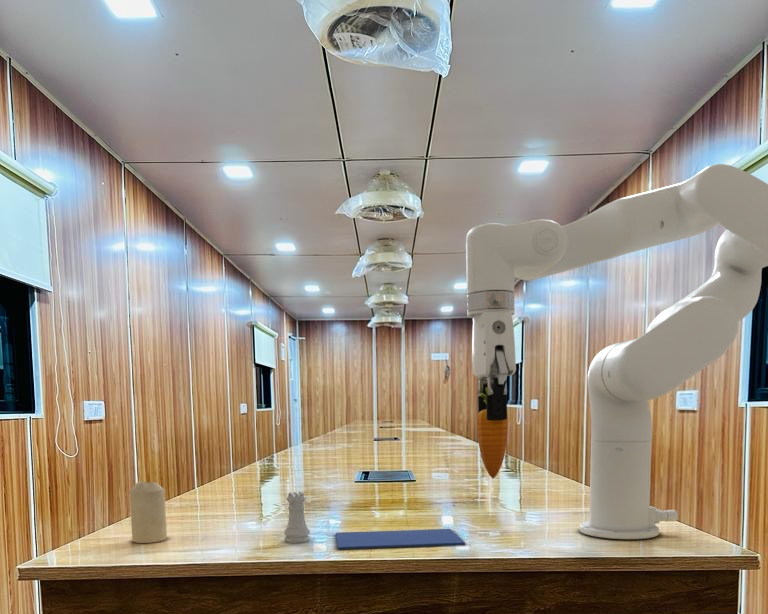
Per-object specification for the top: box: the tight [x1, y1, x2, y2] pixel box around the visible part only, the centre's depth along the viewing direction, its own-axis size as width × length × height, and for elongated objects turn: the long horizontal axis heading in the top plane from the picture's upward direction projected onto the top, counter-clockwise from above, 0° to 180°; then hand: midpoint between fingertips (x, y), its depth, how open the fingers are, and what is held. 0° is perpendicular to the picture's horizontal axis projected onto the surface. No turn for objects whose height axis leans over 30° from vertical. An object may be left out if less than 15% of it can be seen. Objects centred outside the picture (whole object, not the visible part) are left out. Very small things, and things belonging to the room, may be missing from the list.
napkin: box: [335, 528, 466, 551], centre depth 108 cm, size 20×12×1 cm, turn 96°
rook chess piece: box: [283, 491, 312, 544], centre depth 108 cm, size 4×4×8 cm
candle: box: [129, 480, 168, 544], centre depth 111 cm, size 6×6×10 cm
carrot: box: [476, 387, 509, 479], centre depth 108 cm, size 5×5×15 cm
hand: (492, 418), depth 108 cm, fingers closed on carrot, 4 cm apart
